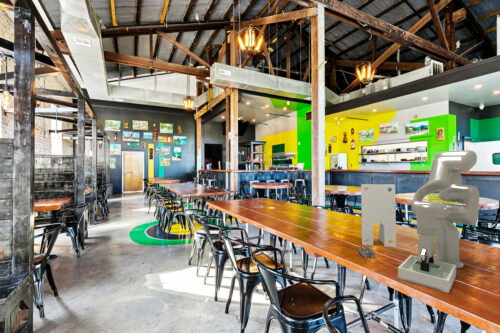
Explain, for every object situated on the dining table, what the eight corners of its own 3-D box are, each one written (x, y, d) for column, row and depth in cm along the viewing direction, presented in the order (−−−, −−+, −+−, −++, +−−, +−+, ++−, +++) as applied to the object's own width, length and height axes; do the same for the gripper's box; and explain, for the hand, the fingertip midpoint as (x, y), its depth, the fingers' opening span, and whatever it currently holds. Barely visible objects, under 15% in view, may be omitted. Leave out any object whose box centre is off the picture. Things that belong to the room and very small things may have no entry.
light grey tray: (410, 264, 123) (410, 255, 123) (456, 275, 110) (456, 265, 110) (398, 278, 108) (397, 267, 108) (448, 293, 95) (448, 280, 95)
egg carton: (357, 251, 144) (357, 244, 144) (370, 252, 143) (370, 245, 143) (361, 257, 134) (361, 250, 134) (376, 258, 132) (376, 251, 132)
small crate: (416, 269, 115) (416, 259, 115) (442, 276, 108) (442, 265, 108) (412, 274, 111) (412, 263, 111) (439, 281, 103) (439, 270, 103)
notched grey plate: (388, 240, 165) (387, 183, 165) (396, 246, 151) (395, 184, 151) (357, 238, 169) (356, 182, 170) (362, 244, 155) (361, 184, 156)
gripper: (421, 226, 118) (421, 260, 118) (412, 233, 106) (412, 271, 106) (440, 229, 112) (440, 264, 112) (432, 236, 101) (433, 276, 101)
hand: (427, 267), depth 109 cm, fingers open, 9 cm apart
